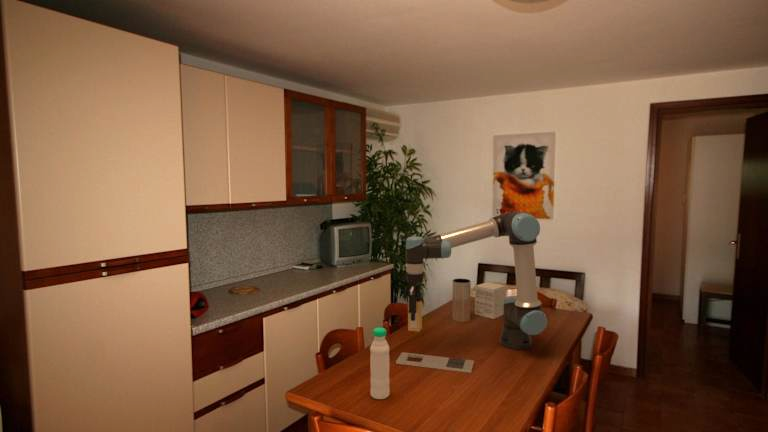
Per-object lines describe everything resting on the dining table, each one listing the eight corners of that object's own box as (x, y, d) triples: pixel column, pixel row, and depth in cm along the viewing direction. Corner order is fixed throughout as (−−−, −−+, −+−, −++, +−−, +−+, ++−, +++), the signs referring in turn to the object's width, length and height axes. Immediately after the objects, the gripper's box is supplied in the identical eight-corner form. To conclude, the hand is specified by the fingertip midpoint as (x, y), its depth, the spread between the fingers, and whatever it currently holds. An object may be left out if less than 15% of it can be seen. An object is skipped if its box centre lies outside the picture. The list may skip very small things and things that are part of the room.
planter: (473, 319, 249) (473, 280, 247) (463, 323, 242) (464, 283, 240) (458, 315, 256) (459, 277, 254) (448, 319, 249) (449, 280, 247)
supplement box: (486, 309, 268) (486, 281, 267) (505, 314, 259) (506, 285, 257) (474, 314, 259) (474, 285, 257) (493, 319, 249) (494, 289, 248)
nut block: (421, 327, 192) (421, 301, 191) (419, 331, 187) (419, 304, 186) (410, 326, 194) (410, 300, 193) (408, 330, 189) (407, 303, 188)
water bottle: (369, 391, 164) (369, 326, 162) (388, 390, 164) (388, 325, 163) (370, 400, 157) (370, 332, 155) (390, 399, 157) (390, 332, 156)
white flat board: (473, 363, 189) (473, 360, 189) (471, 372, 179) (471, 369, 179) (402, 354, 198) (402, 352, 198) (396, 363, 189) (396, 360, 189)
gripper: (411, 268, 198) (411, 318, 200) (400, 276, 181) (401, 331, 183) (427, 269, 196) (427, 319, 198) (418, 277, 179) (418, 332, 181)
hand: (415, 325), depth 190 cm, fingers closed on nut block, 5 cm apart
